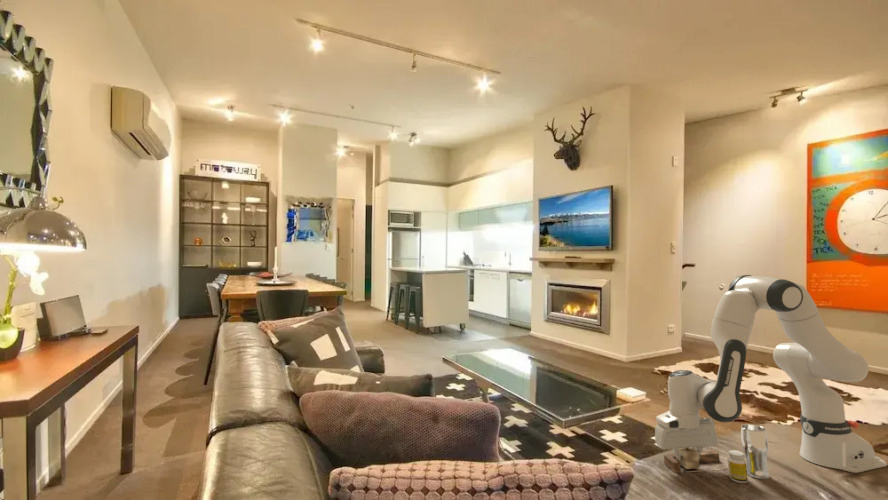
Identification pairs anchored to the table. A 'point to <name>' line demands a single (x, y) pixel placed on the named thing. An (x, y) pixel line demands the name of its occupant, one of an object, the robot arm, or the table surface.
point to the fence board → (704, 457)
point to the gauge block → (689, 458)
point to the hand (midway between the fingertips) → (688, 459)
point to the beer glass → (755, 450)
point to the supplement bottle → (737, 466)
